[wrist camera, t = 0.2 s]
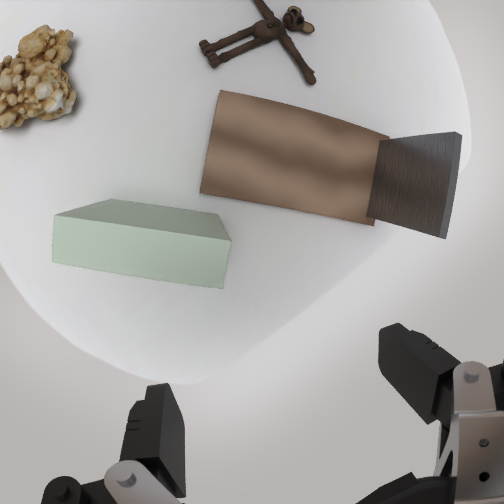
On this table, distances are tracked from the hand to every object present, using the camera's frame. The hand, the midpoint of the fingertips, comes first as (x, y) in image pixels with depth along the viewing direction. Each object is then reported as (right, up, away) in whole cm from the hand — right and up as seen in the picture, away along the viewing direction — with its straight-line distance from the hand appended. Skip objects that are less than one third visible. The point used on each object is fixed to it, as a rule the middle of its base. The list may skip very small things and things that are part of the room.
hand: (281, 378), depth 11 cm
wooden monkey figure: (0, +31, +22) cm, 39 cm away
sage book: (-12, +8, +25) cm, 29 cm away
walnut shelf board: (+5, +16, +26) cm, 31 cm away
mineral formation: (-29, +26, +18) cm, 43 cm away
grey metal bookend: (+15, +14, +26) cm, 33 cm away
